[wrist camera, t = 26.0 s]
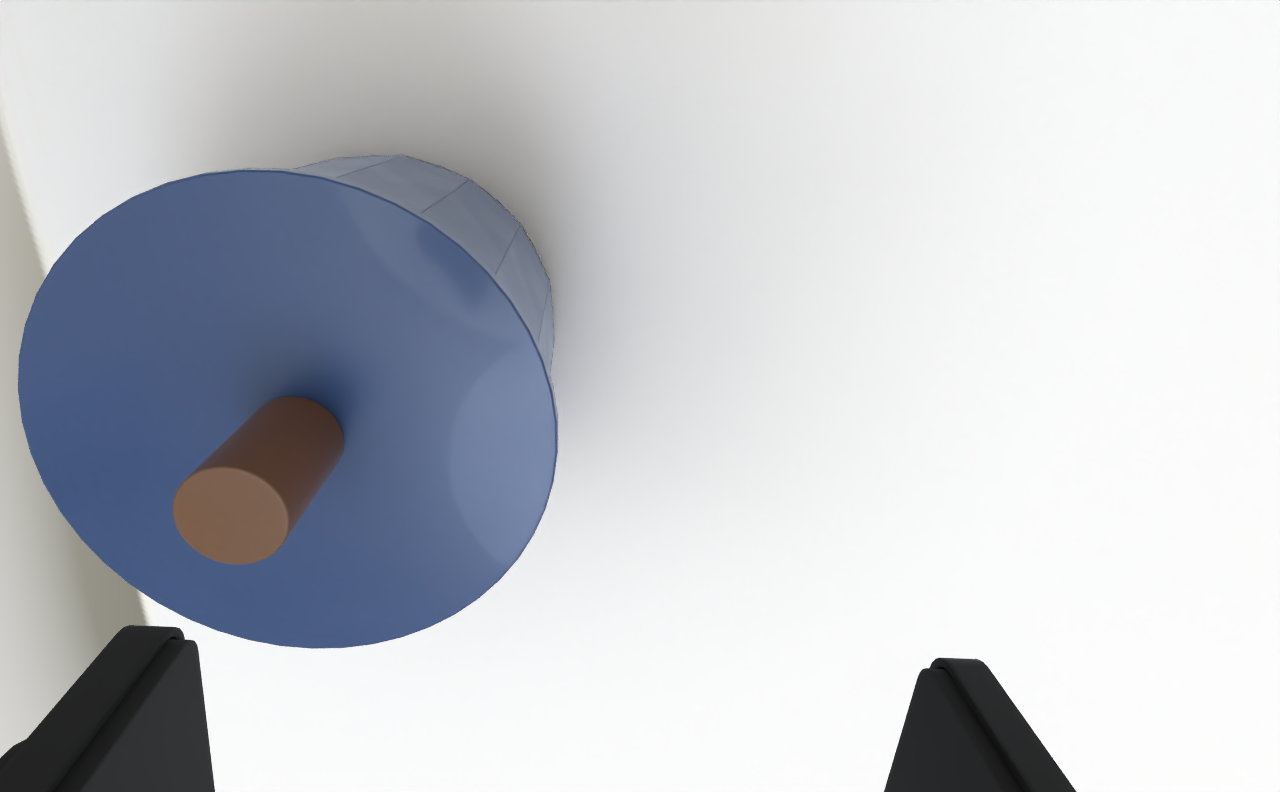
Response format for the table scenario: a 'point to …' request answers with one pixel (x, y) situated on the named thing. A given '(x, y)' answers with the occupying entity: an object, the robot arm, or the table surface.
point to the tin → (461, 225)
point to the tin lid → (288, 407)
